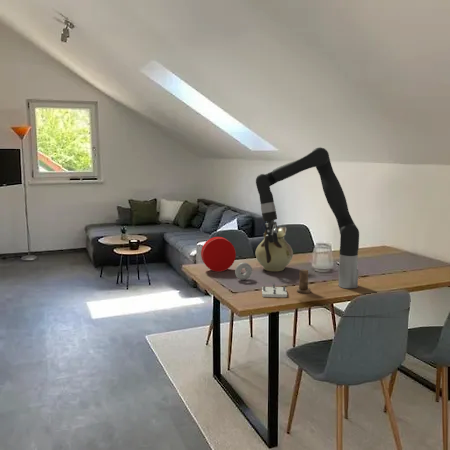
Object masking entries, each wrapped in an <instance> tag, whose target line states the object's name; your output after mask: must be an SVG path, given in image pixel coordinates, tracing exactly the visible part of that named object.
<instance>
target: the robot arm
mask: <svg viewBox="0 0 450 450" xmlns="http://www.w3.org/2000/svg"><path fill="white" fill-rule="evenodd" d="M312 168H316V170H317V173H318V175H319V177H320V182H321V186H322V190H323V193H324V196H325V199H326V202H327V204H328V206H329V208H330V209H331V212H332V213H333V215H334V216H335V219H336V222H337V225H338V229H339V235H340V241H339V245H340V246H339V256H338V257H339V259H338V261H339V263H338V287H339V288H342V289H357V288H359V287H358V283H359V269H358V260H359V259H358V256H359V247H360V244H359V243H360V231H359V228H358V227H357V225H356V224H355V221H354V220H353V218H352V216H351V214H350V212H349V205H348V203H347V199H346V196H345V193H344V190H343V188H342V186H341V183H340V181H339V179H338V177H337V175H336V174H335V171H334V169H333V166H332V162H331V159H330V154H329V152H328V150H327V149H326V148H323V147H317V148H315V149H314V148H313V150H312V151H311V152H310V153H308V154H306V155H304V156H303V157H300V158H299V159H297V160H293V161H291V162H288V163H285V164H283V165H281V166H279V167H276V168H274V169H272V171H270V172H268V173H266V174H265V173H260V174H258V175H257V176H256V178H255V186H256V189H257V193H258V196H259V201H260V211H261V215H262V216H261V217H262V222H266V223H264V227H265V228H264V229H265V230H266V234H267V235H268V237H269V242H270V243H273V242H275V241H278V237H277V233H278V229H277V227H278V224H277V221H275V220H277V219H278V216H277V211H276V210H277V209H276V205H275V201H274V195H273V193H272V191H271V187H272V186H274V185H275V184H277V183H279V182H281V181H284V180H287V179H289V178H291V177H293V176H295V175H297V174H298V173H302V172H303V171H306V170H309V169H312ZM273 234H274V235H273ZM273 239H274V240H273Z"/></svg>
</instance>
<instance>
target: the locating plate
mask: <svg viewBox="0 0 450 450" xmlns="http://www.w3.org/2000/svg"><path fill="white" fill-rule="evenodd" d="M261 295H262V298H287V297H288V292H287V288H286V286H276V284H275V283H272V286H264V285H263V286H261Z"/></svg>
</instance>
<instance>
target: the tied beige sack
mask: <svg viewBox="0 0 450 450" xmlns="http://www.w3.org/2000/svg"><path fill="white" fill-rule="evenodd" d="M277 229H278V233H277V237H278V241H275V242H273V243H270V242H269V237H268V235H267V234H266V229H265V230H264V233H263V239H262V241H261V242H260V243H259V244H258V245H257V247H256V249H255V252H254V253H255V257H256V260H257V262H258V263H259V265H261V267H263V270H265V271H267V272H282V271H284V270H285V268H286V267H287V266H288V265H289V264H290V263H291V261H292V260H293V256H294V251H293V248H292V246H291V244H289V243H288V242H287V240H286V239H285V237H286V235H287V231H288V229H287V227H286V226H279V227H278V226H277ZM273 235H274V234H273ZM273 240H274V239H273Z"/></svg>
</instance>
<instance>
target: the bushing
mask: <svg viewBox="0 0 450 450" xmlns="http://www.w3.org/2000/svg"><path fill="white" fill-rule="evenodd" d="M298 271H299V273H298V275H299V281H298V287H296V293H299V294H310V293H311V288H309V270H308V269H304V268H303V269H299V270H298Z"/></svg>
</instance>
